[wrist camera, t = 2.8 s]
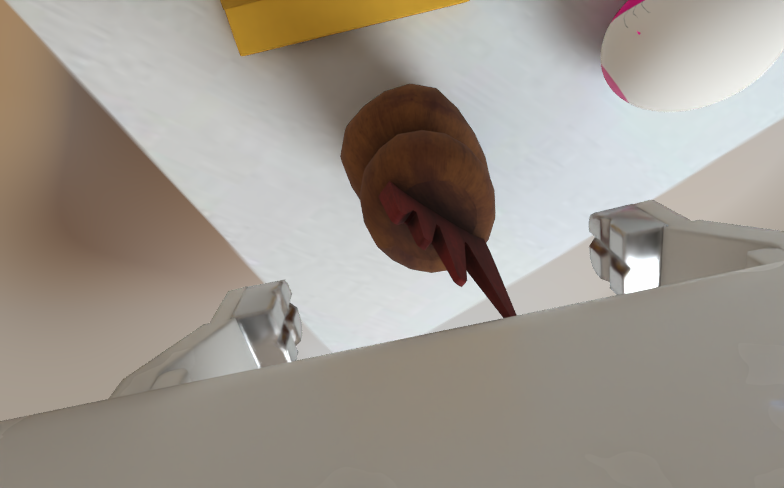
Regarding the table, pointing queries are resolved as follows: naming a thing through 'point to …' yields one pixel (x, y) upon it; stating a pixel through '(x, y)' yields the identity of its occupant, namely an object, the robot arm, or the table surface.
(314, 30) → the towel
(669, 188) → the table surface
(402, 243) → the wooden figurine
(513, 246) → the table surface
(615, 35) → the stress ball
